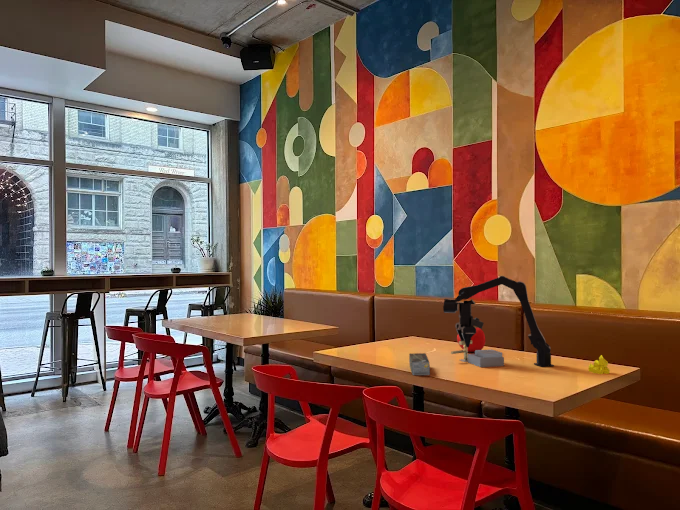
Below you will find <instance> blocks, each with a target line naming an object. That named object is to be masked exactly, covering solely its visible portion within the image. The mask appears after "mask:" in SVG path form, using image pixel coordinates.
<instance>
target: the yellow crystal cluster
mask: <svg viewBox="0 0 680 510" xmlns="http://www.w3.org/2000/svg"><path fill="white" fill-rule="evenodd" d="M608 363H609V362H608V361H607V360H606V359H605V358H604V357H603V355H602V354H600V356H599V357H598V359H596V360H594V361H593V363H589V365H588V370H587V371H588V372H590V373H592V374H598V375H603V374H606V375H607V374H610V371H611V370H610V368H608V365H609V364H608Z"/></svg>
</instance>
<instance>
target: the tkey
mask: <svg viewBox="0 0 680 510" xmlns="http://www.w3.org/2000/svg"><path fill="white" fill-rule="evenodd" d="M470 344H472V340H471V341H470ZM460 345H464V349H459V350H453V351H450V354H451V355H454V354H455V355H457V354H463V359H464V360H468V354H469V353H468V347H466V344H465V341H459V344H458V346H460Z"/></svg>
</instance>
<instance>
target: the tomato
mask: <svg viewBox="0 0 680 510" xmlns="http://www.w3.org/2000/svg"><path fill="white" fill-rule="evenodd" d="M474 327H475V328H476V333H475V335H473V336H472V338H471V340H472V344H470V345H469V347H468V352H469V353H475V350H484V349H483V348H484V347H485V345H486V335H485V332H484V330H482V329H481V328H479V327H476V326H474ZM456 341H457V344H458V345H459V341H461V339H460V337H459V335H458V334H457V336H456ZM459 348H461V350H464V345H459Z"/></svg>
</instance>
